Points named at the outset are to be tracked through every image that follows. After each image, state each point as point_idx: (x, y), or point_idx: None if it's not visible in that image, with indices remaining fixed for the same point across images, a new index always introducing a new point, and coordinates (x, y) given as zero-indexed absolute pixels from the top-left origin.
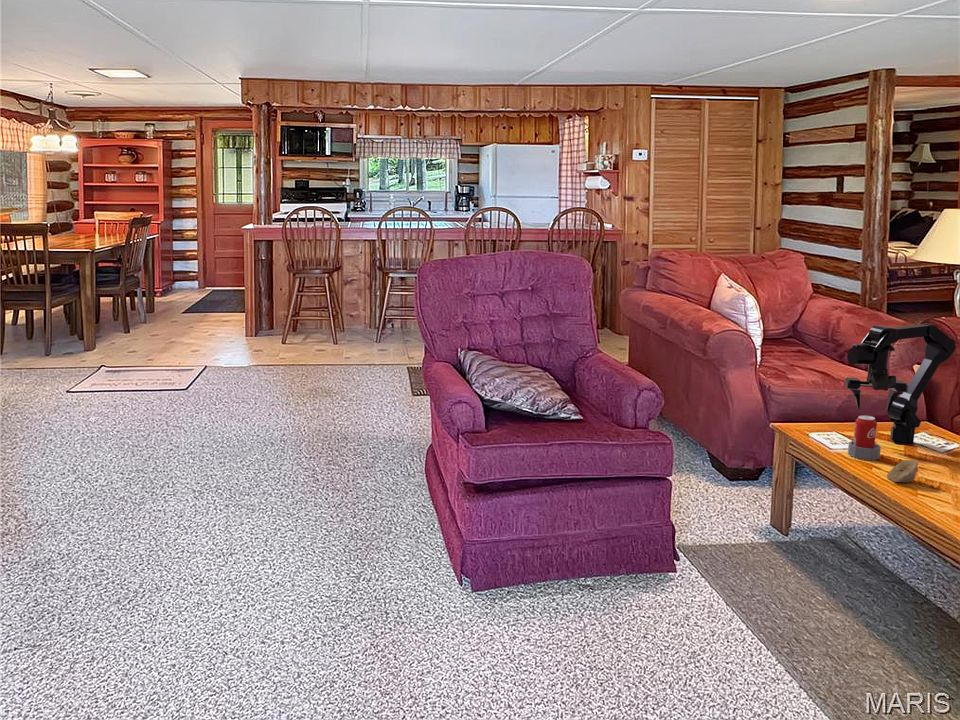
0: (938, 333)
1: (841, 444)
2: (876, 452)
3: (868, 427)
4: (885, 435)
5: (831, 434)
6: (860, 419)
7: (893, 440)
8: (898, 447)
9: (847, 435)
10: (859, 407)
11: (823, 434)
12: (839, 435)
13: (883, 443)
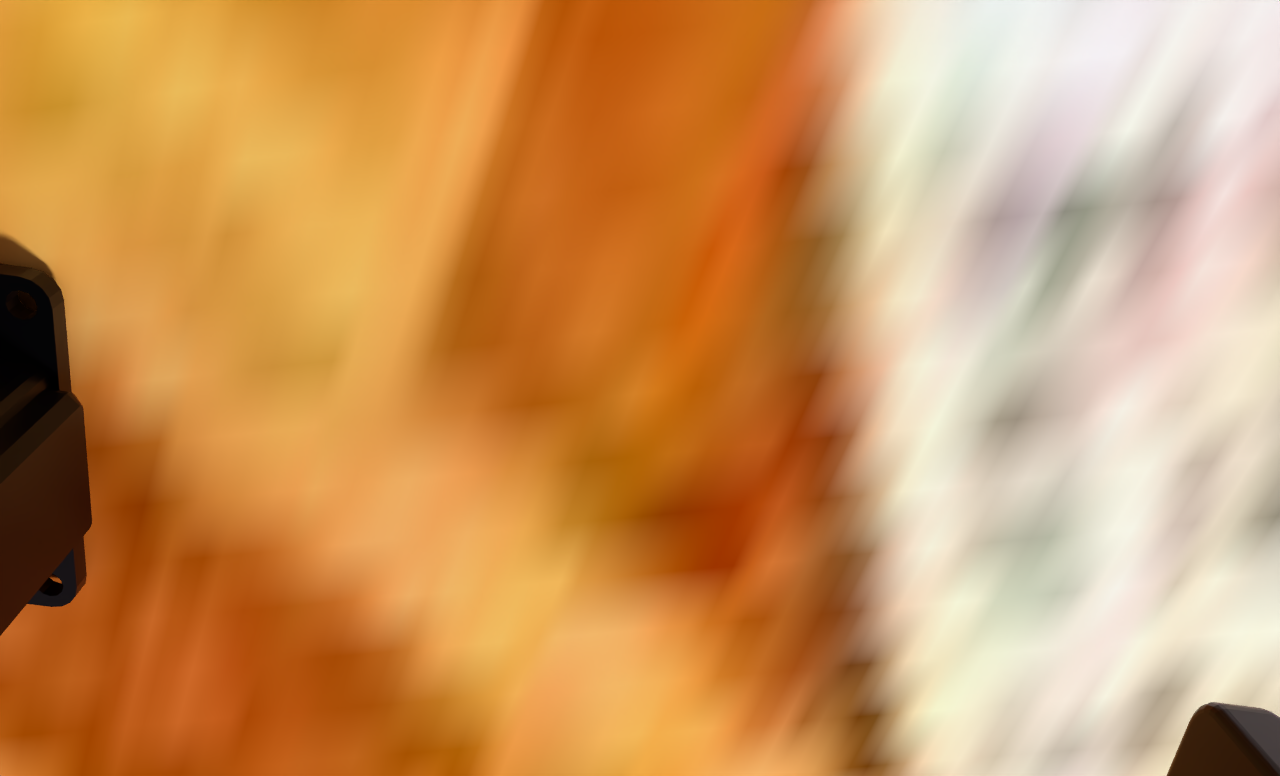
0: None
1: (1241, 108)
2: None
3: None
4: (125, 770)
5: (1068, 745)
6: None
7: (54, 391)
8: (32, 20)
9: (799, 716)
10: (1246, 745)
11: None
12: (948, 704)
13: (284, 290)
